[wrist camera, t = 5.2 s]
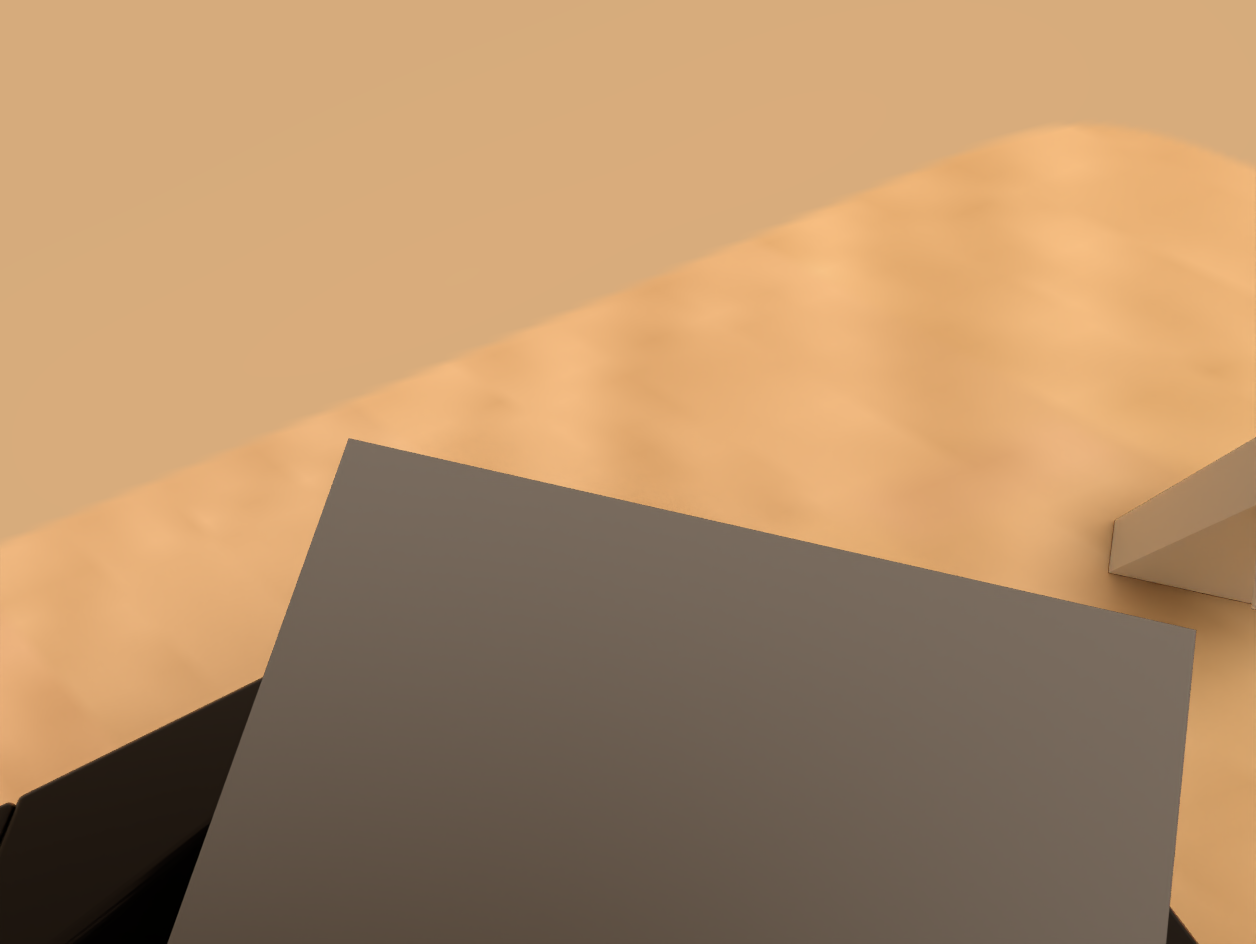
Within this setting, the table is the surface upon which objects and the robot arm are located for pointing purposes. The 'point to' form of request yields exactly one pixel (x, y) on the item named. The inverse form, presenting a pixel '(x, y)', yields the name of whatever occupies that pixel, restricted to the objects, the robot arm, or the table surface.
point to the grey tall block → (680, 738)
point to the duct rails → (1196, 532)
